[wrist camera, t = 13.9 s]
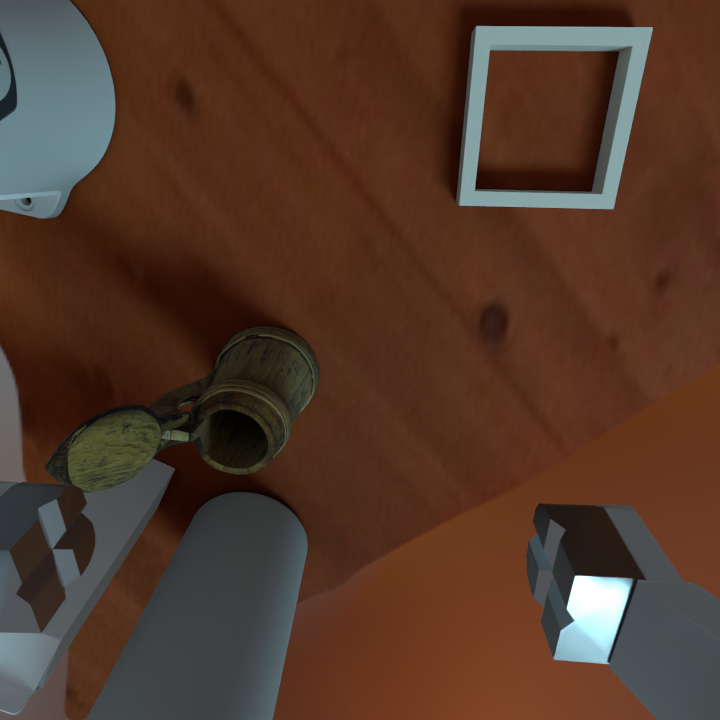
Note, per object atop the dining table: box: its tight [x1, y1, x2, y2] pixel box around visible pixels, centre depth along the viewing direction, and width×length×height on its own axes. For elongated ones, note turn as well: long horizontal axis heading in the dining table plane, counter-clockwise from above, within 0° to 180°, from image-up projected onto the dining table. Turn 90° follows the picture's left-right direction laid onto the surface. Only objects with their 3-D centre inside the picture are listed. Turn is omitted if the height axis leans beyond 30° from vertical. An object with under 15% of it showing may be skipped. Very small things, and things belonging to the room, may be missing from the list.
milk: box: [0, 459, 175, 715], centre depth 40 cm, size 6×6×22 cm
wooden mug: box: [45, 326, 319, 493], centre depth 36 cm, size 9×14×18 cm, turn 75°
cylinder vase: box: [86, 492, 307, 720], centre depth 41 cm, size 12×12×25 cm
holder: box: [456, 26, 653, 209], centre depth 34 cm, size 11×11×2 cm
